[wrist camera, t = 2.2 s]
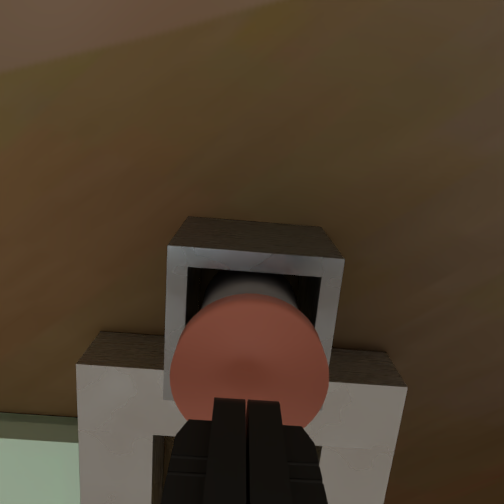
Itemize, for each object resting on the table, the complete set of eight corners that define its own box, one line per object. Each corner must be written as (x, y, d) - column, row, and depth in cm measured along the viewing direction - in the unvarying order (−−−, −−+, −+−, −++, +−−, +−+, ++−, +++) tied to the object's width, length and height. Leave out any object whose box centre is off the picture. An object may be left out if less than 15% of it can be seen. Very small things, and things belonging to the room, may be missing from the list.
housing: (408, 233, 19) (460, 268, 15) (345, 566, 25) (368, 671, 20) (98, 209, 19) (46, 236, 14) (103, 552, 24) (67, 656, 20)
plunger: (311, 256, 17) (339, 313, 12) (298, 358, 18) (318, 451, 13) (196, 247, 17) (172, 300, 12) (191, 351, 18) (167, 442, 13)
